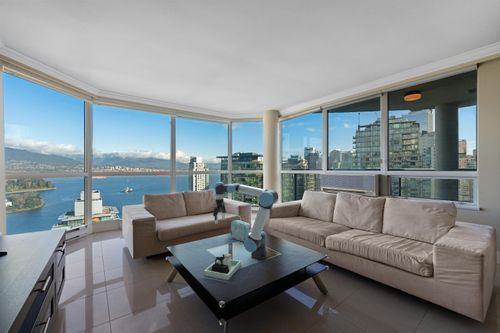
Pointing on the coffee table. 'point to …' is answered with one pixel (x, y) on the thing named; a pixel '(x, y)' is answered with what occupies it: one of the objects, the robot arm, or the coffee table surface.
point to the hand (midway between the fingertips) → (219, 221)
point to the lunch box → (240, 230)
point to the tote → (234, 266)
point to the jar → (227, 259)
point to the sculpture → (220, 266)
